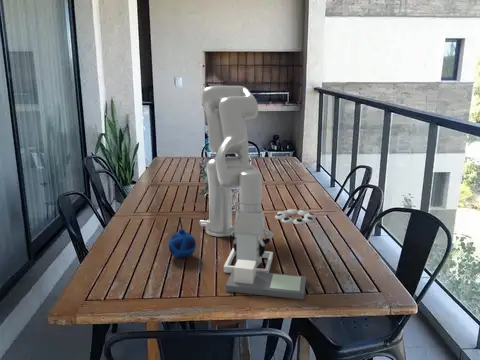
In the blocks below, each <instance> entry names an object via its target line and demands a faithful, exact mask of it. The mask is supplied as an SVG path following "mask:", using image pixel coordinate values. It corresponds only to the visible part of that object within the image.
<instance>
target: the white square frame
mask: <svg viewBox="0 0 480 360" xmlns="http://www.w3.org/2000/svg"><path fill="white" fill-rule="evenodd" d="M235 256H236V251H234V247H232V249H231V251H230V253H229V255H228V257H227V259H226V260H225V263H224V264H223V273H227V274H231V273H232V271H233V269H234V267H235V265H231V264H232V262H233V260H234V257H235ZM273 257H274V252H273V251H266V250H265V253H264V254H263V255H262V259H267V262H266V265H265V268H261V267H260V268H258V267H257V268H256V272H266V273H270V269H271V265H272V261H273Z"/></svg>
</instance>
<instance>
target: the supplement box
mask: <svg viewBox="0 0 480 360" xmlns="http://www.w3.org/2000/svg"><path fill="white" fill-rule="evenodd" d="M260 245H261V243H260V242H259V241H258V235H251V234H237V252H236V255H235V256H236V257H235V259H236V260H235V261H236V262H237V260H238V259H240V260H251V261H256V268H258V267H259V266H260V264H261V263H262V259H263V258H262V257H260Z"/></svg>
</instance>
